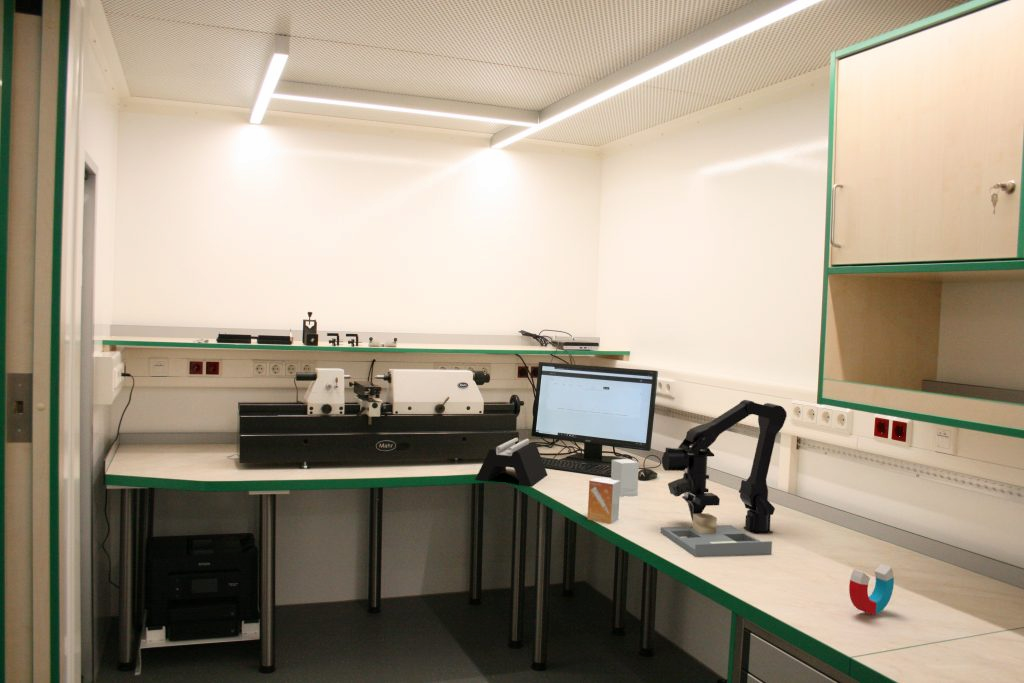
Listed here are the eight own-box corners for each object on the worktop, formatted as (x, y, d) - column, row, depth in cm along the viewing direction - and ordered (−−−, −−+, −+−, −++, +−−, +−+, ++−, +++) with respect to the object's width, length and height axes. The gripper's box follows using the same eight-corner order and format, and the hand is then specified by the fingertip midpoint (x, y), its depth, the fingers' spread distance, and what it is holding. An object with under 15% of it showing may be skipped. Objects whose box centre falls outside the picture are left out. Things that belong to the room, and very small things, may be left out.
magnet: (881, 606, 174) (884, 563, 173) (892, 610, 171) (895, 566, 171) (847, 614, 168) (849, 569, 168) (858, 618, 166) (860, 573, 165)
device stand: (474, 484, 283) (475, 444, 283) (493, 473, 305) (495, 435, 304) (531, 490, 276) (533, 449, 276) (547, 478, 298) (549, 440, 297)
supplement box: (638, 497, 271) (639, 462, 270) (619, 498, 268) (621, 463, 268) (627, 492, 278) (629, 458, 277) (609, 493, 275) (611, 459, 274)
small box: (587, 521, 236) (588, 480, 236) (595, 517, 242) (596, 476, 241) (611, 525, 232) (613, 483, 232) (618, 521, 238) (620, 480, 237)
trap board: (660, 533, 225) (661, 522, 225) (730, 531, 231) (730, 520, 231) (695, 557, 204) (696, 544, 204) (771, 554, 210) (772, 541, 210)
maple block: (707, 528, 226) (708, 513, 226) (716, 533, 221) (716, 517, 221) (692, 528, 225) (693, 513, 225) (700, 533, 220) (701, 518, 220)
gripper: (659, 464, 236) (656, 514, 236) (686, 477, 218) (684, 531, 218) (691, 464, 238) (689, 513, 239) (721, 477, 220) (719, 530, 221)
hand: (694, 521), depth 229 cm, fingers closed
